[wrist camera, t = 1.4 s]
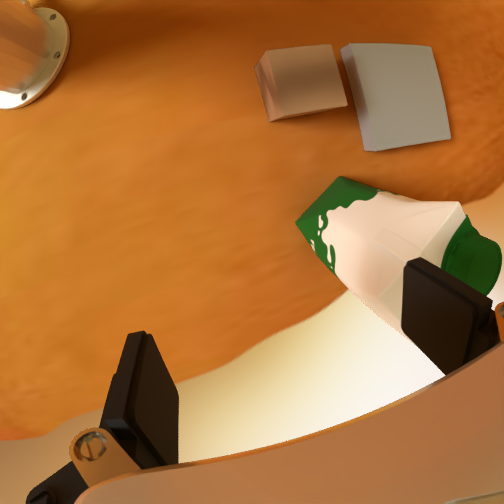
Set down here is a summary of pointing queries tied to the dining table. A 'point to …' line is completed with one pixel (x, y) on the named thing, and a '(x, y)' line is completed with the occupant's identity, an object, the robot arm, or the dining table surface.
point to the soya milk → (394, 243)
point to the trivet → (396, 94)
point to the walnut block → (300, 81)
